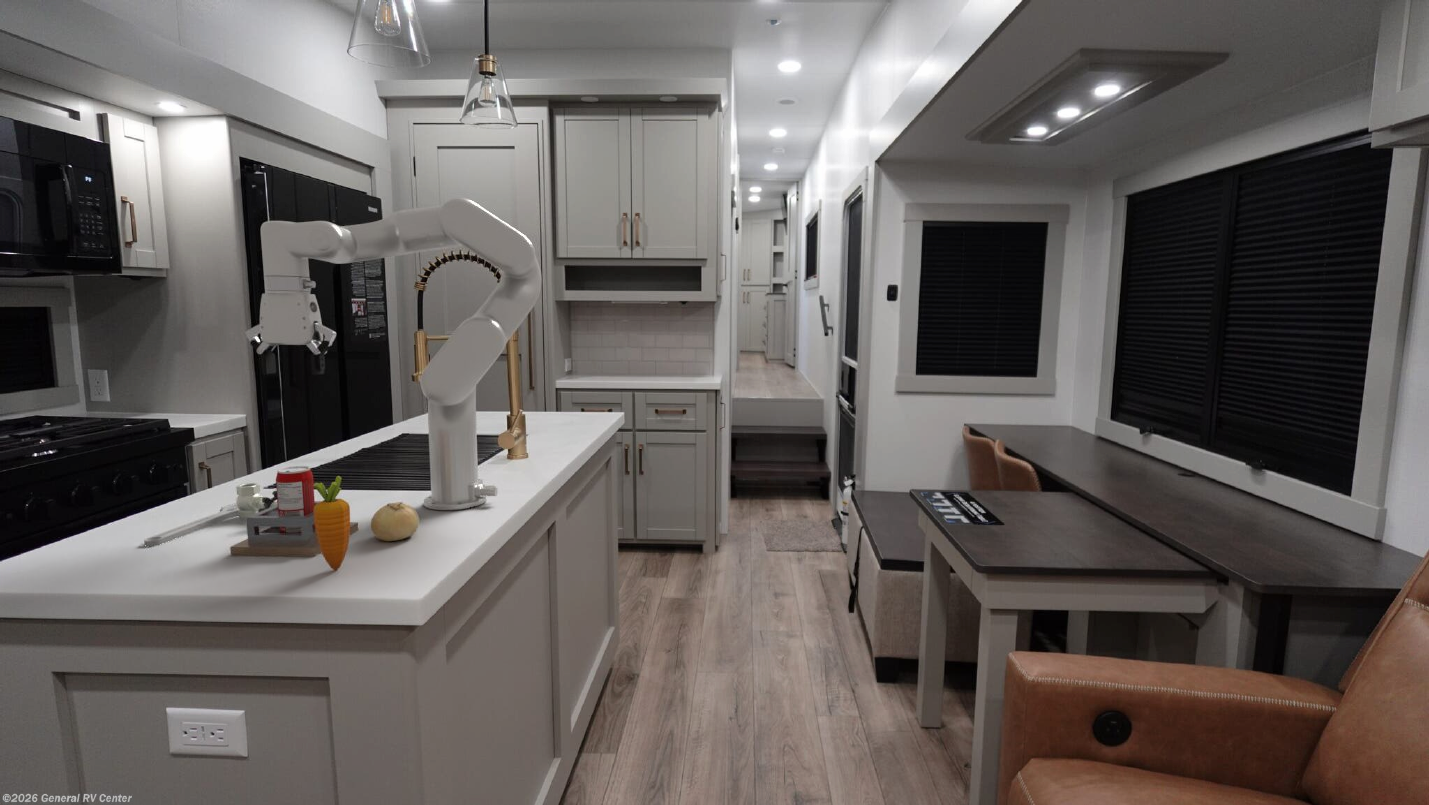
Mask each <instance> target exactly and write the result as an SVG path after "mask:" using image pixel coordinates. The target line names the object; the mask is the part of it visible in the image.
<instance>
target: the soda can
mask: <svg viewBox="0 0 1429 805" xmlns="http://www.w3.org/2000/svg"><path fill="white" fill-rule="evenodd" d="M313 485H314V475H313V472H312V470H311V467H310V466H308V465H295V466H294V465H293V466H287V467H281V468H279V469H277V473H276V476H275V488H276V490H275V491H277V500H276V502H277V503H278V516H306V515H308V514H310V513H312V512H313V511H314V506H315V487H314V486H313ZM312 527H313V529H315V524H313V525H312ZM279 530H280V533H301V527H279Z"/></svg>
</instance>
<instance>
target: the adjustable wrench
mask: <svg viewBox="0 0 1429 805" xmlns="http://www.w3.org/2000/svg"><path fill="white" fill-rule="evenodd" d="M238 511H239V508H238V507H237V504H236V502H235V503H230V504H228V505H225V506H220V509H219V511H218V512H217V513H213V514H211V515H208V516H205V517H202V518H200V519H197V520H194V521H191V522H188V523H186V524H183V525H180V526H177V527H175V528H171V529H169V530H167V531H163V532H161V533H158V534H155V535H152V536H150V537H147V538H144V539H143V541H144V542H143V543H144V546H145V545H146V546H153V547H155V546H154V545H158V546H161V545H163V544H162V543H164V544H167V543H168V541H169V542H171V541H174V540H176V539H175V538H177V539H180V538H182V537H185V536H187V534H188V535H190V534H194V533H195V532H197V531H200V529H201V530H203V529H205V528H206V529H207V528H208V527H210V526H213V525H216V524H219V523H221V522H224V521H226V520H229V519H232V518H236V517H239V514H238ZM218 522H219V523H218ZM181 536H182V537H181ZM179 537H180V538H179ZM173 539H174V540H173ZM166 542H167V543H166ZM160 544H161V545H160Z"/></svg>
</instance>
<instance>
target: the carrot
mask: <svg viewBox="0 0 1429 805" xmlns="http://www.w3.org/2000/svg"><path fill="white" fill-rule="evenodd" d="M341 483H342V477H341V476H340V475H337V476H336V477H335V479H334V481H332V482H331V484H330V486H329V487H328V488H326V486H325V485H324V483H322V482H319V483H318V482H314V483H313V486H314V489H315V490H316V491H317V492H318V493H319V495H320V497H322V499H323V500H321V502H319V503H317V504H316V505H315V506H314V511H313V512H314V521H315V529H316V535H317V539H318V543H319V546H320V549H321V554H322V556H323V558H324V560H325V562H326V563H327V564H328V566H329V567H330V568H331V569H332V570H333V571H338V570H339V568H341V566H342V563H343V562H344V560H345V558H346V555H347V552H348V548H349V547H348V546H349V542H350V536H351V535H350V522H351V513H350V512H351V509H350V504H349V502H347V501H346V500H344V499H343V498H337V496H338V495H339V493H340V492H341V490H342V488H341V487H340V485H341Z"/></svg>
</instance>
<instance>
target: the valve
mask: <svg viewBox="0 0 1429 805" xmlns="http://www.w3.org/2000/svg"><path fill="white" fill-rule="evenodd" d="M260 486H261V485H260V483H256V482H251V483H250V482H248V483H243V484H239V485H236V486H235V490H236V495H237V497H236V502H235V503H236V504H237V507H238V508H239V511H238V514H239V516H238V519H240V520H243V521H244V520H245V521H246V518H247V517H249V516H251V515H254V514H256V513H258V512H261V511H263V510H265V509H268V508H270V507H272V506H275V505H277V504H278V503H277V490H274V491H272V492H271V493H272V495H273V497H272V498H270V497H267V496H262V495H261V494H260V493H261V487H260Z"/></svg>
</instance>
